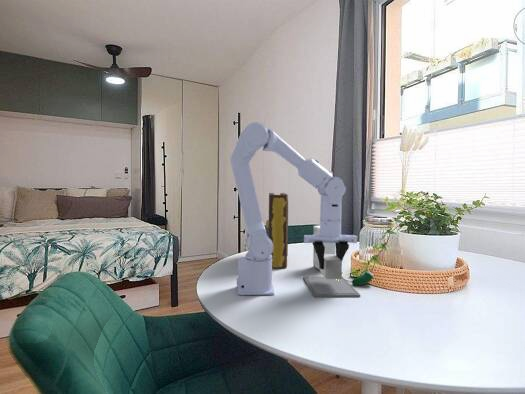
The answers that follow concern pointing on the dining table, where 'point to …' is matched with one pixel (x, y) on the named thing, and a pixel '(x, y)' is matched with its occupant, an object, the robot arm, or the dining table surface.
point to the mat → (330, 287)
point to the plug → (332, 267)
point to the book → (278, 229)
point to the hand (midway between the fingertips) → (329, 268)
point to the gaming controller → (363, 278)
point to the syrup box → (328, 249)
